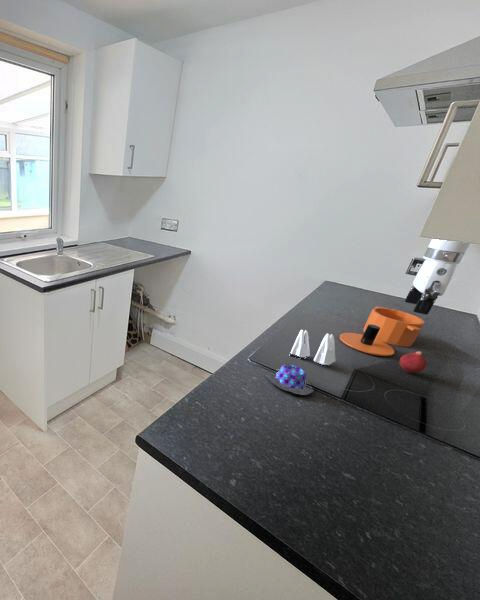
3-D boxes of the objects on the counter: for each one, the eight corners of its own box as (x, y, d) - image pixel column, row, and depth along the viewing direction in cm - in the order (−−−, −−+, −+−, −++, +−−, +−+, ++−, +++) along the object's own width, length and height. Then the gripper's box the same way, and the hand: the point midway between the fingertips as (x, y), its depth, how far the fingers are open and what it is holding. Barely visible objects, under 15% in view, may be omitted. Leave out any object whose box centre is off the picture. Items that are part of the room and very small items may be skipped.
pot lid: (374, 338, 121) (383, 319, 118) (404, 360, 107) (415, 340, 104) (330, 333, 124) (338, 314, 121) (354, 353, 110) (363, 333, 106)
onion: (400, 375, 99) (412, 353, 96) (391, 365, 104) (402, 345, 101) (423, 380, 97) (436, 358, 94) (413, 370, 102) (425, 349, 99)
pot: (389, 327, 131) (400, 307, 127) (428, 352, 113) (442, 330, 109) (351, 323, 133) (360, 303, 130) (383, 347, 115) (395, 324, 112)
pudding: (313, 404, 84) (320, 388, 82) (264, 386, 90) (269, 371, 88) (312, 381, 94) (318, 366, 91) (267, 367, 99) (272, 353, 97)
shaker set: (333, 365, 102) (346, 336, 98) (332, 371, 99) (345, 341, 95) (291, 351, 109) (301, 323, 105) (289, 355, 106) (299, 327, 102)
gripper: (474, 264, 84) (441, 321, 90) (449, 252, 97) (422, 302, 104) (435, 259, 87) (407, 313, 94) (416, 248, 101) (393, 296, 108)
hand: (415, 307), depth 99 cm, fingers open, 9 cm apart
